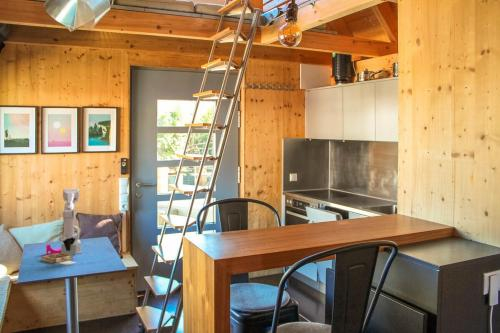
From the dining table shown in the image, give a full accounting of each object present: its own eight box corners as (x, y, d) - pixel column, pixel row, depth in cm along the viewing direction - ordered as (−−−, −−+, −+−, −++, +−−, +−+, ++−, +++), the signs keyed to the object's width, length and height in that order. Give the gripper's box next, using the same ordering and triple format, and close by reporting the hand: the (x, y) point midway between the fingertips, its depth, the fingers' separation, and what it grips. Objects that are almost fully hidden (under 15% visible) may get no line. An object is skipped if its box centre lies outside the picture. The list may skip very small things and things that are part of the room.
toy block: (69, 252, 311) (69, 241, 310) (70, 253, 305) (70, 243, 305) (45, 254, 303) (45, 243, 303) (46, 256, 298) (46, 245, 297)
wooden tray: (59, 256, 295) (59, 252, 295) (72, 259, 287) (72, 255, 287) (41, 260, 284) (41, 256, 284) (54, 263, 276) (54, 259, 276)
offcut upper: (61, 254, 291) (61, 252, 291) (68, 256, 287) (68, 253, 287) (58, 255, 289) (58, 253, 289) (65, 256, 285) (65, 254, 285)
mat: (71, 260, 284) (71, 260, 284) (79, 262, 280) (79, 261, 280) (58, 263, 277) (58, 262, 277) (66, 265, 273) (66, 264, 273)
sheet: (62, 253, 280) (62, 243, 280) (76, 254, 278) (76, 244, 278) (61, 253, 279) (61, 244, 278) (75, 254, 277) (75, 244, 276)
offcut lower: (59, 256, 292) (59, 254, 292) (69, 258, 287) (69, 256, 287) (56, 257, 290) (56, 255, 290) (65, 259, 285) (65, 257, 285)
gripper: (70, 226, 286) (70, 247, 286) (55, 230, 272) (56, 252, 272) (79, 227, 284) (80, 248, 285) (66, 230, 270) (66, 253, 271)
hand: (69, 250), depth 278 cm, fingers closed on sheet
